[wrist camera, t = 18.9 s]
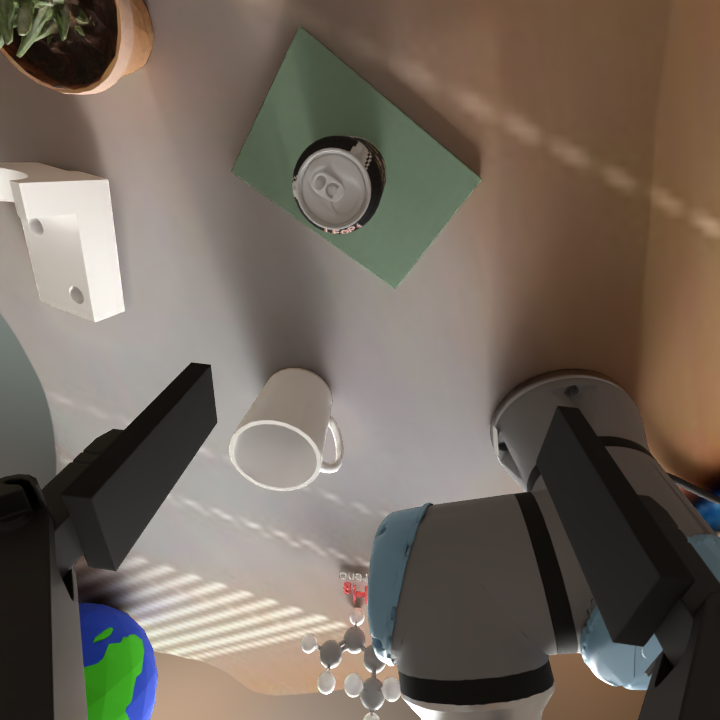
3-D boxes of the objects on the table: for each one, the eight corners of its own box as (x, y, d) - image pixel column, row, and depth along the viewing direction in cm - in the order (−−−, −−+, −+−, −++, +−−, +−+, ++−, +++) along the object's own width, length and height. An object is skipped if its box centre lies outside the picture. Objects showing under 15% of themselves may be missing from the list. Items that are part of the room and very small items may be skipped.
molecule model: (431, 562, 64) (441, 658, 48) (426, 639, 68) (434, 749, 52) (308, 553, 65) (282, 642, 50) (310, 628, 69) (286, 732, 54)
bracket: (48, 162, 37) (-50, 162, 31) (108, 179, 36) (18, 183, 29) (73, 292, 44) (-4, 314, 37) (124, 311, 42) (54, 337, 36)
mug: (254, 412, 48) (221, 474, 39) (270, 352, 44) (238, 407, 35) (339, 440, 49) (326, 507, 40) (363, 384, 45) (355, 446, 36)
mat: (480, 178, 34) (482, 179, 33) (395, 287, 39) (395, 289, 39) (301, 27, 30) (299, 25, 29) (233, 171, 35) (230, 171, 35)
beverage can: (341, 120, 32) (313, 112, 22) (400, 162, 33) (400, 174, 23) (308, 185, 35) (269, 206, 24) (363, 222, 36) (349, 257, 25)
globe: (129, 666, 86) (10, 897, 60) (3, 594, 75) (-207, 836, 49) (221, 631, 75) (127, 894, 49) (90, 543, 65) (-119, 816, 39)
